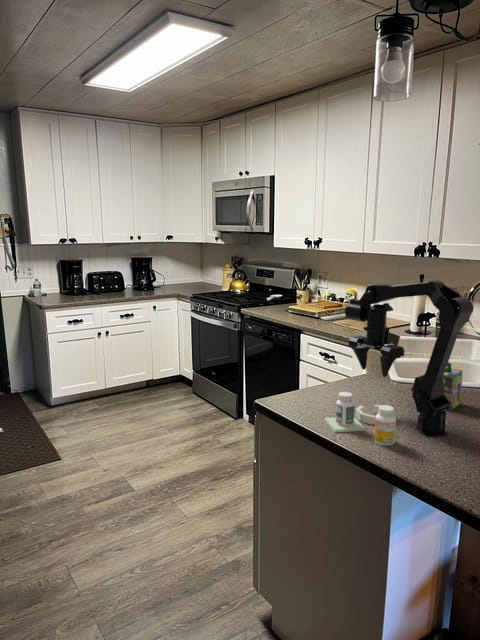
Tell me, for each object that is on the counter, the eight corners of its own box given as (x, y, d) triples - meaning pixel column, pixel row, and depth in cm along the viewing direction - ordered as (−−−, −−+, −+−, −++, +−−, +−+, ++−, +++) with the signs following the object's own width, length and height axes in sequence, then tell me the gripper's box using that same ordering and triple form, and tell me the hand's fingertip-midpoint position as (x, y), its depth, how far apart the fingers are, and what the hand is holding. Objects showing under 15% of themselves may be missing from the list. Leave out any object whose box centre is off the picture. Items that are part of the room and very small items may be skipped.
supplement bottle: (379, 435, 134) (380, 402, 132) (398, 441, 130) (399, 407, 128) (370, 442, 130) (372, 408, 128) (390, 447, 126) (392, 413, 124)
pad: (353, 418, 146) (353, 416, 146) (364, 430, 137) (364, 427, 137) (324, 420, 145) (324, 417, 144) (334, 432, 136) (334, 429, 136)
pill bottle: (354, 420, 142) (355, 392, 141) (352, 427, 137) (354, 397, 136) (336, 418, 144) (337, 390, 142) (334, 424, 139) (335, 395, 138)
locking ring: (383, 411, 152) (383, 404, 151) (397, 423, 142) (398, 415, 142) (351, 413, 150) (352, 405, 150) (364, 425, 141) (364, 417, 140)
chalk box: (461, 404, 158) (464, 360, 155) (451, 411, 151) (454, 366, 149) (433, 397, 164) (436, 355, 161) (422, 404, 158) (425, 361, 155)
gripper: (419, 326, 143) (415, 376, 146) (374, 317, 159) (372, 362, 162) (391, 330, 138) (388, 382, 141) (348, 320, 154) (346, 367, 157)
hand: (374, 372), depth 150 cm, fingers open, 9 cm apart
